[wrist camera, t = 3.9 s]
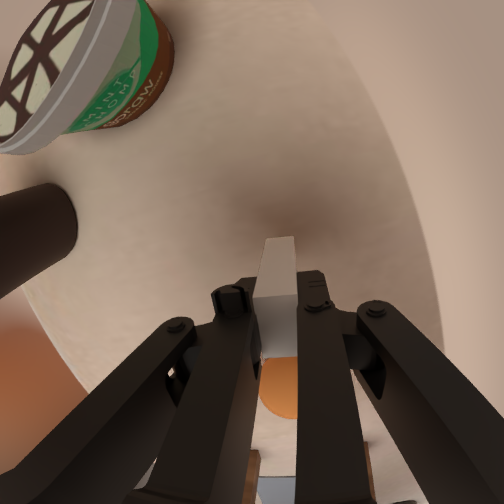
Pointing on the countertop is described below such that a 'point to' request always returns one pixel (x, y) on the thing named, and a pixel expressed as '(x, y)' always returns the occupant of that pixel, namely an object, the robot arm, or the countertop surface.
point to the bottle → (33, 233)
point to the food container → (83, 71)
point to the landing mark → (276, 490)
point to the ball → (280, 386)
